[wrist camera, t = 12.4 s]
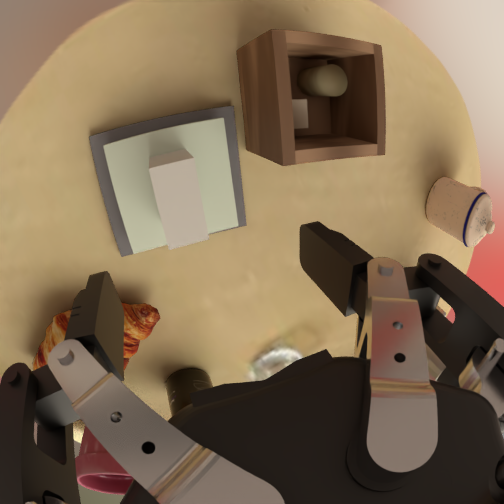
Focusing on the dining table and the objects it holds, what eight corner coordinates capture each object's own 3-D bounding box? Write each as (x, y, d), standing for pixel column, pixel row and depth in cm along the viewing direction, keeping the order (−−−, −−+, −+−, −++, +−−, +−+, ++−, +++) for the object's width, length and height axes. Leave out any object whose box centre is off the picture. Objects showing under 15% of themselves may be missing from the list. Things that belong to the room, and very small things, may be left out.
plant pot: (163, 429, 43) (177, 488, 32) (106, 443, 41) (113, 497, 30) (118, 395, 35) (125, 469, 24) (58, 411, 33) (57, 476, 22)
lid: (218, 117, 23) (242, 119, 17) (232, 218, 28) (257, 250, 22) (107, 143, 20) (90, 154, 15) (134, 244, 26) (132, 284, 20)
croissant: (54, 354, 32) (66, 404, 28) (4, 337, 23) (13, 398, 20) (165, 296, 34) (188, 354, 30) (123, 262, 25) (145, 339, 21)
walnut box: (328, 53, 23) (381, 45, 16) (333, 140, 28) (384, 154, 22) (236, 50, 21) (271, 29, 14) (246, 150, 26) (283, 166, 19)
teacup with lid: (426, 234, 42) (476, 267, 32) (421, 191, 37) (481, 221, 27) (460, 200, 42) (507, 225, 32) (457, 159, 37) (511, 181, 27)
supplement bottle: (156, 376, 36) (170, 450, 26) (199, 360, 37) (223, 434, 27) (177, 398, 39) (194, 463, 29) (216, 384, 40) (240, 449, 30)
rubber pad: (231, 105, 23) (233, 105, 23) (244, 223, 29) (246, 225, 29) (90, 136, 20) (89, 136, 19) (121, 254, 26) (121, 256, 26)
